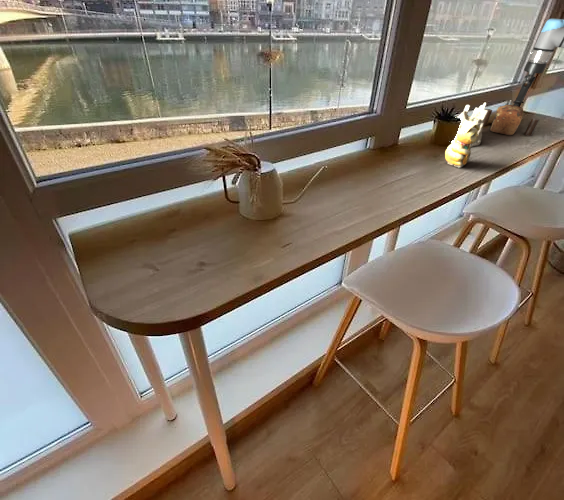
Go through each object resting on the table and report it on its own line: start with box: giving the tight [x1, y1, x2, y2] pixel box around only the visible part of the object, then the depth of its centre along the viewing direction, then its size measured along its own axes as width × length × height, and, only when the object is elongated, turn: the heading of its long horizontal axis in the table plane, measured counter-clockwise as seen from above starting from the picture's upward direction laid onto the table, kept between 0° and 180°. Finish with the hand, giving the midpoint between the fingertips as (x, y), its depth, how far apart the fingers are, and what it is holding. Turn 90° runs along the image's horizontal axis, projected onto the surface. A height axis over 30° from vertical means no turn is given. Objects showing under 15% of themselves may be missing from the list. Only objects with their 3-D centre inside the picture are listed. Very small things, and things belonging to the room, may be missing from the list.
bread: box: [489, 104, 524, 136], centre depth 149 cm, size 19×11×10 cm, turn 147°
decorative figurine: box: [444, 121, 480, 169], centre depth 113 cm, size 10×8×15 cm
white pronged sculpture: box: [450, 102, 488, 148], centre depth 134 cm, size 16×16×15 cm
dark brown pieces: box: [483, 108, 540, 137], centre depth 148 cm, size 22×3×7 cm, turn 51°
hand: (511, 117), depth 157 cm, fingers closed
